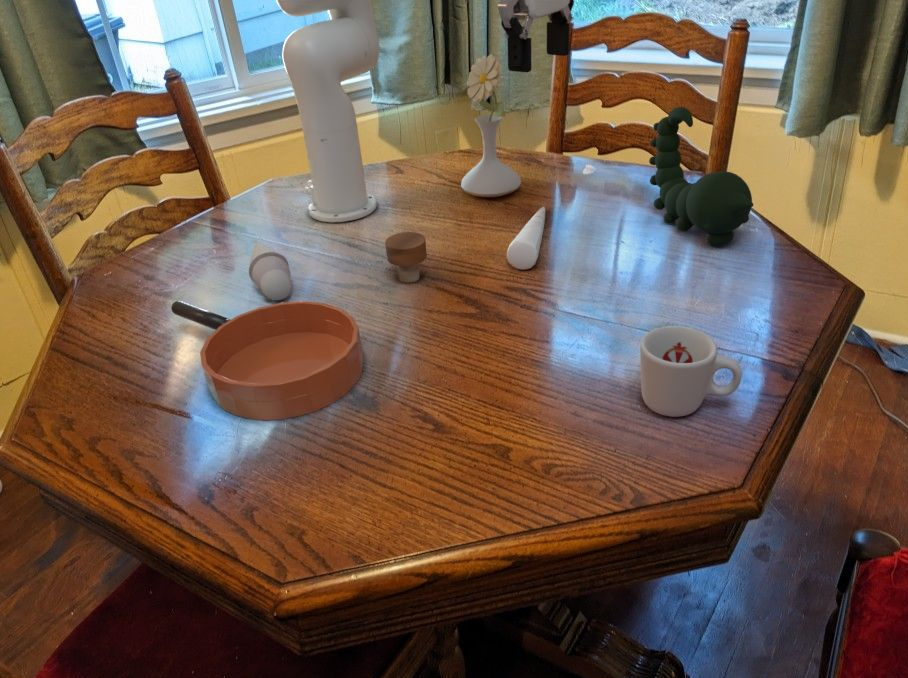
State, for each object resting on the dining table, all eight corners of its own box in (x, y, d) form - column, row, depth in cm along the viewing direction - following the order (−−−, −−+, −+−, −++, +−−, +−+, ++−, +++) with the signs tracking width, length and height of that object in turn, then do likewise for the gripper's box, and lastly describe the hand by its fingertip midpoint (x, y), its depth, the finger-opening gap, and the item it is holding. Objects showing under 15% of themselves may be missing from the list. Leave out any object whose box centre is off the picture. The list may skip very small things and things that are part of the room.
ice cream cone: (262, 263, 119) (287, 315, 110) (228, 250, 115) (251, 303, 106) (281, 232, 117) (308, 283, 108) (247, 218, 113) (272, 269, 103)
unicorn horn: (565, 210, 129) (565, 184, 126) (536, 272, 111) (536, 243, 108) (538, 209, 130) (538, 183, 128) (506, 270, 112) (505, 241, 109)
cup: (735, 391, 84) (747, 332, 79) (732, 434, 78) (745, 373, 73) (639, 378, 87) (645, 320, 82) (630, 419, 81) (635, 359, 76)
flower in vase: (455, 185, 143) (445, 48, 128) (511, 177, 144) (507, 40, 130) (472, 210, 132) (464, 63, 118) (532, 200, 134) (531, 55, 120)
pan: (179, 389, 91) (167, 356, 89) (288, 320, 104) (281, 289, 101) (287, 439, 82) (278, 404, 79) (393, 356, 94) (389, 323, 92)
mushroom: (382, 281, 112) (376, 244, 108) (406, 266, 116) (401, 228, 112) (413, 290, 109) (408, 252, 105) (436, 274, 113) (433, 236, 109)
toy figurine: (633, 218, 128) (718, 265, 108) (637, 106, 119) (731, 133, 98) (680, 209, 130) (773, 253, 110) (688, 98, 121) (790, 123, 100)
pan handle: (170, 315, 101) (166, 303, 100) (182, 309, 102) (178, 297, 101) (228, 338, 95) (224, 325, 94) (240, 331, 96) (236, 318, 95)
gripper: (548, -95, 94) (547, 47, 104) (472, -82, 83) (479, 75, 93) (601, -97, 91) (595, 50, 101) (528, -84, 80) (529, 80, 89)
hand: (539, 62), depth 97 cm, fingers open, 9 cm apart
